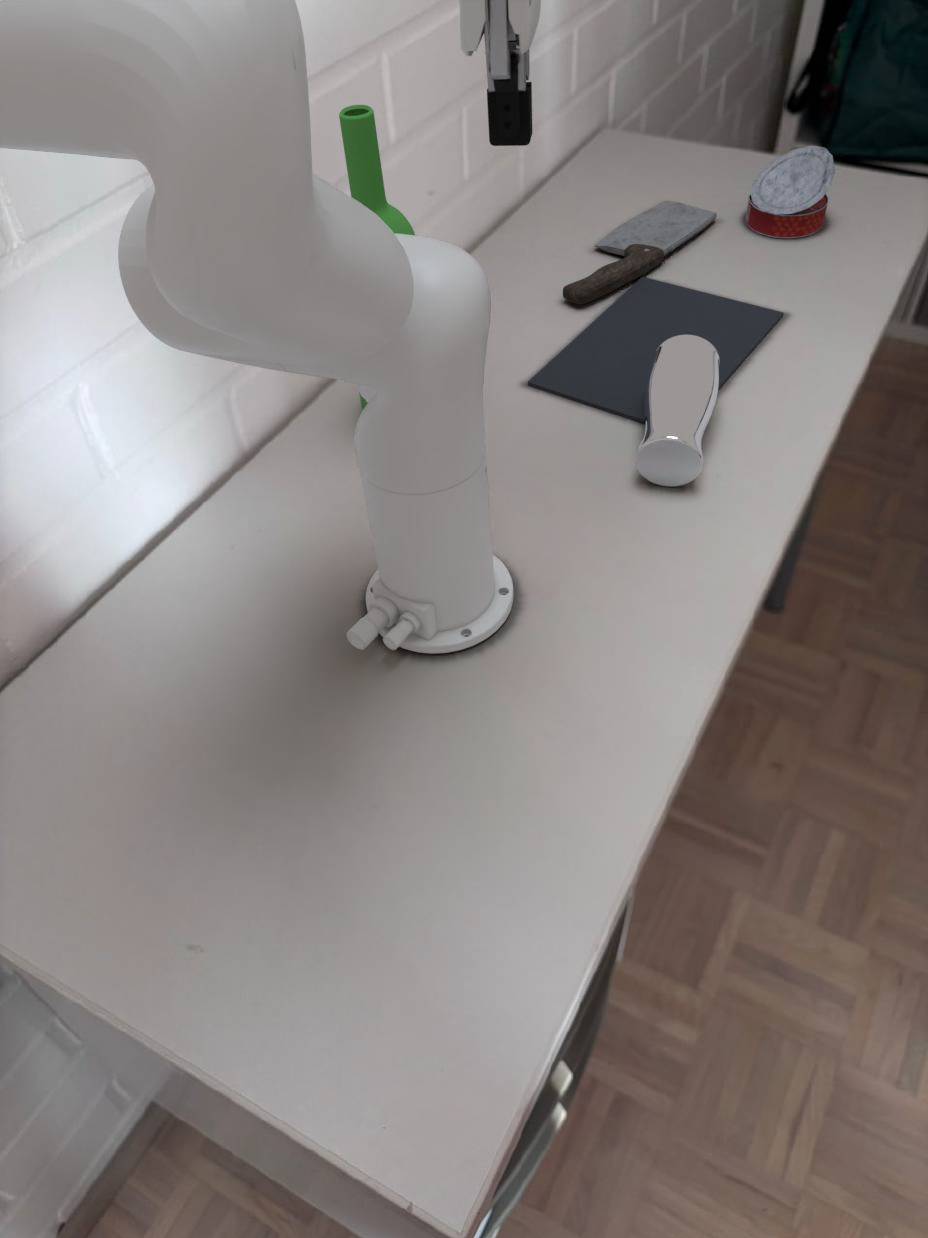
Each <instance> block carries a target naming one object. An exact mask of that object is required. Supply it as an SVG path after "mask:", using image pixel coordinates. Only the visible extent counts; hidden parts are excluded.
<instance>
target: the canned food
mask: <svg viewBox="0 0 928 1238" xmlns="http://www.w3.org/2000/svg"><path fill="white" fill-rule="evenodd" d="M833 155H834V154H832V153H830V151H829V150H828V148H826V147H824V146H818V145H808V146H804V147H799V148H795V149H792V150H790V151H788V152H786V153H785V154H781V155H780V156H778V157H776V158H775V159H774V160H772V161H771V162H770V163H769V164H768V165H766V166H764V167H763V168H762V169H761V170H760V172H759V173H758V174H757V176H756V177H755V178H754V179H753V180H752V185H751V188H750V191H749V194H748V201H747V207H746V214H745V220H744V222H745V225H746V226H747V227H748V229H750V230H751V231H753V232H755V233H757V234H758V235H761V236H765V237H767V238H768V237H769V238H774V239H785V240H786V239H787V240H788V239H790V240H791V239H799V238H805V237H809V236H811V235H814V234H816V233H818V232H819V231H820V230H821V229H822V228H823V226H824V223H825V218H826V213H827V209H828V204H829V197H828V195H827V193H828V191H829V189H830V188H831V186H832V184H833V181H834V176H835V171H836V168H835V163H834V156H833Z"/></svg>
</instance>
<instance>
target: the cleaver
mask: <svg viewBox="0 0 928 1238" xmlns="http://www.w3.org/2000/svg"><path fill="white" fill-rule="evenodd" d="M717 216H718V215H717V212H716V211H715V212H714V211H711V210H707V209H704V208H700V207H697V206H693V205H690V204H685V203H683V202H678V201H664V202H661V203H659V204H658V205H655V206H653V207H651V208H649V209H648V210H645V211H644V212H642V213H640V214H637V215H636V216H634V217H633V218H631V219H629V220H628V221H626V222H625V223H622V224H621V225H619V226H618V227H617V228H615V229H614V230H613V231H611V232H610V233H608V234H607V235H605V236H604V237H603V238H601V240H599V241H598V242H597V243H595V244H594V247H596V248H598V249H599V250H602V251H604V252H607V253H609V254H615V255H618V256H623V258H622V259H619V260H616V261H613V262H610V263H608V264H605V265H603V266H600V267H599V268H598V269H596V270H595V271H594V272H593V273H591V274H590V275H588V276H586V277H584V278H581V279H578V280H576V281H574V282H571V283H568V284H566V285H564V286H563V288H562V297H563V299H564V300H565V301H567V302H570V303H573V304H575V305H585V304H587V303H590V302H593V301H594V300H597V299H599V298H601V297H603V296H606V295H607V294H610V293H611V292H613V291H616V290H617V289H619V288H621V287H623V286H625V285H626V284H628V283H629V284H630V283H631V282H632V281H634V280H636V279H638V278H641V277H642V276H643V275H645V274H646V273H648V272H649V271H651V270H652V269H654V268H655V267H657V266H659V265H660V264H661V263H662V262H663V261H664V259H665V256H667V255H668V254H669V253H671V252H672V251H674V250H675V249H677V248H678V247H680V246H681V245H683V244H684V243H686V242H687V241H689V240H691V239H692V238H693V237H695V236H697V235H698V234H699V233H701V232H702V231H703V230H704V229H706V228H707V227H708V226H709V225H710V224H711V223H713V222H714V221H715V220H716V219H717Z"/></svg>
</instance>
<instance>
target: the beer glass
mask: <svg viewBox="0 0 928 1238" xmlns="http://www.w3.org/2000/svg"><path fill="white" fill-rule="evenodd" d="M719 364H720V360H719V355H718V352H717V350H716V349H715V347H714V346H713V345H712V344H711V343H710V342H708V341H707V340H705V339H703V338H701V337H698V336H695V335H678V336H674V337H672V338H669V339H668V340H666V341H664V342H663V343H662V344H661V345H660V346H659V347H658V349H657V350H656V352H655V355H654V359H653V362H652V365H651V368H650V371H649V374H648V378H647V382H646V388H645V400H644V407H645V423H644V424H645V428H644V429H645V431H644V435H643V438H642V440H641V442H640V444H639V446H638V448H637V451H636V454H635V459H634V460H635V467H636V469H637V471H638V473H639V475H641V476H642V477H643V478H644V479H646V480H647V481H649V482H650V483H652V484H655V485H656V486H657V485H658V486H662V487H668V488H669V487H670V488H671V487H681V486H683V485H686V484H687V485H688V484H689V483H692V481H694V480H695V479H696V478H698V476H699V475H700V474H701V471H702V469H703V465H704V463H703V462H704V458H703V451H702V450H703V449H702V442H703V441H702V440H703V436H704V433H705V431H706V429H707V426H708V424H709V421H710V419H711V417H712V414H713V412H714V410H715V406H716V403H717V397H718V393H719V390H718V385H719Z"/></svg>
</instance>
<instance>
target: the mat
mask: <svg viewBox="0 0 928 1238" xmlns="http://www.w3.org/2000/svg"><path fill="white" fill-rule="evenodd" d="M783 317H784V312H783V311H779V310H775V309H771V308H767V307H763V306H759V305H755V304H752V303H748V302H744V301H740V300H736V299H732V298H729V297H723V296H720V295H717V294H713V293H708V292H704V291H701V290H697V289H692V288H689V287H684V286H680V285H676V284H673V283H669V282H664V281H662V280H657V279H653V278H649V277H645V276H641V277H639V279H638V280H637V281H635V283H634V284H633V285H632V286H630V288H628V289H627V290H626V291H625V292H623V294H622V295H620V296H619V297H618V298H617V300H615V301H614V302H613V303H612V304H611V305H609V306H608V308H606V309H605V310H604V311H603V312H602V313H601V314H600V315H599V316H597V318H595V320H594V321H592V322H591V323H590V324H589V325H588V326H587V327H586V328H585V329H583V330H582V331H581V332H580V333H579V334H578V335H577V336H576V337H575V338H574V339H573V340H572V341H571V342H570V343H568V344H567V345H566V346H564V348H562V349H561V351H560V352H558V354H555V356H554V357H553V358H551V360H550V361H548V363H546V364H545V365H544V366H543V367H542V368H541V369H540V370H539V371H537V373H536V374H534V376H532V377H531V378H530V379H529V380H528V381H527V386H530V387H532V388H535V389H539V390H542V391H545V392H548V393H550V394H554V395H556V396H560V397H563V398H566V399H569V400H572V401H575V402H578V403H581V404H585V405H587V406H589V407H594V408H596V409H600V410H603V411H606V412H608V413H612V414H614V415H618V416H621V417H624V418H627V419H630V420H633V421H636V422H639V423H643V424H645V407H644V400H645V388H646V382H647V378H648V374H649V371H650V368H651V365H652V362H653V359H654V355H655V352H656V350H657V349H658V347H659V346H660V345H661V344H662V343H663V342H664V341H666V340H668V339H669V338H672V337H674V336H678V335H695V336H698V337H701V338H703V339H705V340H707V341H708V342H710V343H711V344H712V345H713V346H714V347H715V349H716V350H717V352H718V355H719V360H720V364H719V385H718V391H719V390H720V389H721V388H722V387H723V385H724V384H725V383H726V382H727V381H728V380H729V379H730V377H731V376H733V374H734V373H735V371H736V370H738V368H739V367H740V366H741V365H742V364H743V362H744V361H745V360H746V359H747V358H748V357H749V356H750V354H751V353H752V352H753V351H754V350H755V349H756V348H757V346H758V345H759V344H760V343H761V342H762V340H763V339H765V337H766V336H767V334H768V333H769V332H770V331H771V330H772V329H773V328H774V327H775V326H776V325H777V324H778V323H779V321H780V320H781V318H783Z"/></svg>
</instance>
